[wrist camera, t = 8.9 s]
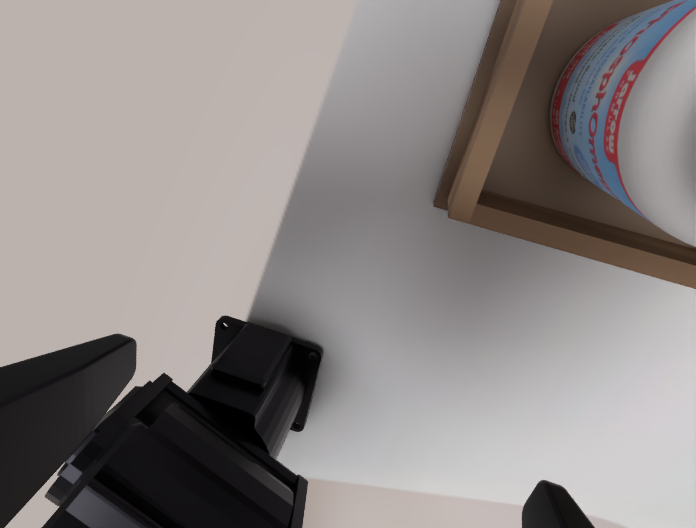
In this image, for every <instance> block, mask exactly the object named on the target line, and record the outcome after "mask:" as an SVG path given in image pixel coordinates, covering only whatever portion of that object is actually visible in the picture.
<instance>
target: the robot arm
mask: <svg viewBox="0 0 696 528" xmlns="http://www.w3.org/2000/svg"><path fill="white" fill-rule="evenodd" d="M223 323H225V324H227V326H228V327H226V326H225V325H224V324H223ZM311 352H313V353H315V354H316V355H317V356H314V355H312V354H311ZM322 358H323V350H322V349H321V348H320V347H319V346H317V345H314V344H311V343H308V342H305V341H302V340H299V339H296V338H293V337H290V336H288V335H285V334H282V333H279V332H276V331H273V330H270V329H267V328H264V327H261V326H258V325H255V324H252V323H247V322H244V321H241V320H238V319H235V318H232V317H229V316H222V317H221V318H220V319H219V320H218V321H217V323H216V327H215V336H214V344H213V353H212V362H211V364H210V365H209V367H208V368H207V369H206V370H205V371H204V373H203V374H202V375H201V376H200V377H199V379H198V380H197V381H196V382H195V383H194V384H193V385H192V387H191V388H190V389H189V390H188V391H187V392H185V391H184V390H183V389H181V388H180V387H179V386H177V385H176V384H175V383H173V382H172V380H173V379H172V378H170V377H169V376H168V375H166V374H165V373H163V374H162V375H161V376H160V377H158V378H157V379H156V380H155V381H154V382H153V383H152V382H151V381H149V382H147V383H146V384H145V385H144V386H143V387H138V386H135V387H134V388H133V389H132V390H131V391H130V392H129V393H128V394H127V395H126V396H125V397H124V398H123V399H122V400H121V401H120V402H119V403H118V404H116V406H114V407H113V408H112V409H111V410H109V411H108V412H107V410H108V409H109V408H110V406H111V405H112V404H113V403H114V401H115V400H116V399H117V397H118V396H119V395H120V393H121V392H122V391H123V389H124V388H125V387H126V385H127V384H128V383H129V381H130V380H131V379H132V377H133V375H134V373H135V369H136V341H135V340H134V339H133V338H130V337H128V336H125V335H122V334H113V335H110V336H106V337H103V338H99V339H96V340H93V341H89V342H86V343H83V344H79V345H75V346H72V347H68V348H65V349H62V350H58V351H55V352H52V353H48V354H45V355H41V356H38V357H34V358H31V359H27V360H24V361H20V362H17V363H13V364H10V365H7V366H3V367H0V528H4V527H5V526H6V525H7V524H8V523H9V522H10V521H11V520H12V519H13V517H14V516H15V515H16V514H17V513H18V512H19V511H20V510H21V509H22V508H23V507H24V506H25V504H26V503H27V502H28V501H29V500H30V499H31V498H32V497H33V496H34V495H35V493H36V492H37V491H38V490H39V489H40V488H41V487H42V486H43V485H44V484H45V483H46V482H47V480H48V479H49V478H50V477H51V476H52V475H53V474H54V473H55V472H56V471H57V470H58V469H59V467H60V466H61V465H62V464H63V463H64V462H65V464H64V465H63V467H62V468H61V469H60V471H59V472H58V474H57V475H58V476H59V477H58V478H57V480H56V481H55V482H54V484H53V485H52V486H51V487H50V489H49V490H48V492H47V493H46V495H45V497H46V498H47V499H48V500H50V501H51V502H53V503H54V504H55V505H57V506H59V508H58V509H57V511H56V512H55V513H54V514H53V515H52V516H51V518H50V519H49V520H48V521H47V522H46V524H45V525H44V526H43V527H42V528H302V524H303V517H304V509H305V501H306V494H307V485H308V481H307V480H306V479H304V478H303V477H302V476H300V475H296V474H294V473H293V472H292V471H290V470H289V469H288V468H286V467H285V466H284V465H282V464H281V463H280V462H278V461H277V460H276V459H277V456H278V454H279V452H280V450H281V448H282V445H283V443H284V441H285V439H286V437H287V434H288V432H289V430H293V431H296V432H300V431H302V430H303V429H304V426H305V424H306V420H307V416H308V413H309V409H310V405H311V401H312V397H313V393H314V389H315V385H316V381H317V377H318V373H319V369H320V366H321V362H322ZM106 412H107V413H106ZM295 422H297V423H299V424H297V423H295ZM522 528H595V527H594V526H593V525H592V523H591V522H590V521H589V519H588V518H587V517H586V515H585V514H584V513H583V511H582V510H581V509H580V507H579V506H578V505H577V504H576V502H575V501H574V500H573V498H572V497H571V496H570V494H569V493H568V492H567V490H566V489H565V488H564V487H562V486H560V485H558V484H555V483H552V482H549V481H546V480H541V481H540V482H539V483H538V484H537V485H536V487H535V489H534V490H533V492H532V493H531V495H530V496H529V498H528V500H527V501H526V503H525V505H524V507H523V511H522Z"/></svg>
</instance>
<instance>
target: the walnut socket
mask: <svg viewBox="0 0 696 528" xmlns="http://www.w3.org/2000/svg"><path fill="white" fill-rule="evenodd" d="M670 1H673V0H501V1H500V4H499V7H498V10H497V13H496V16H495V19H494V22H493V25H492V28H491V31H490V34H489V37H488V40H487V43H486V46H485V49H484V52H483V55H482V58H481V61H480V64H479V67H478V70H477V73H476V76H475V79H474V82H473V85H472V88H471V91H470V94H469V97H468V100H467V103H466V106H465V109H464V112H463V115H462V118H461V121H460V125H459V128H458V131H457V134H456V137H455V140H454V143H453V146H452V149H451V152H450V155H449V158H448V161H447V164H446V167H445V170H444V173H443V176H442V179H441V182H440V185H439V188H438V191H437V194H436V197H435V200H434V205H433V206H434V207H437V208H441V209H444V210H448V218H451V219H454V220H458V221H461V222H465V223H468V224H472V225H475V226H479V227H482V228H486V229H489V230H493V231H496V232H500V233H503V234H506V235H510V236H513V237H517V238H520V239H524V240H527V241H531V242H534V243H538V244H541V245H545V246H548V247H552V248H555V249H559V250H562V251H566V252H569V253H572V254H576V255H579V256H583V257H586V258H590V259H593V260H597V261H600V262H604V263H607V264H611V265H614V266H618V267H621V268H625V269H628V270H632V271H635V272H638V273H642V274H645V275H649V276H652V277H656V278H659V279H663V280H666V281H670V282H673V283H677V284H680V285H684V286H687V287H691V288H694V289H696V247H695V246H692V245H690V244H687V243H685V242H683V241H681V240H679V239H677V238H675V237H673V236H672V235H670V234H668V233H666V232H665V231H663V230H662V229H660V228H658V227H657V226H656V225H654V224H653V223H651V222H650V221H648V220H646V219H645V218H644V217H642V216H641V215H639V214H638V213H636V212H635V211H633V210H632V209H631V208H629V207H628V206H626V205H625V204H623V203H622V202H620V201H619V200H617V199H616V198H614V197H613V196H611V195H610V194H608V193H607V192H605V191H604V190H602V189H601V188H599V187H598V186H596V185H595V184H593V183H592V182H590V181H589V180H587V179H586V178H584V177H583V176H581V175H579V174H578V173H577V172H576V171H575V170H573V169H572V168H571V167H570V166H569V165H568V164H567V163H566V162H565V161H564V159H563V158H562V157H561V155H560V154H559V152H558V150H557V148H556V146H555V144H554V141H553V138H552V134H551V128H550V106H551V101H552V96H553V93H554V90H555V87H556V84H557V82H558V80H559V78H560V76H561V74H562V72H563V70H564V69H565V67H566V65H567V64H568V62H569V61H570V60H571V58H572V57H573V56H574V55H575V53H576V52H577V51H578V50H579V49H580V48H581V47H582V46H583V45H584V44H585V43H586V42H587V41H588V40H590V39H591V38H592V37H593V36H594V35H596V34H597V33H599V32H600V31H602V30H603V29H605V28H606V27H608V26H610V25H612V24H613V23H615V22H618V21H620V20H622V19H624V18H626V17H629V16H631V15H634V14H637V13H639V12H642V11H645V10H648V9H651V8H654V7H656V6H659V5H662V4H665V3H667V2H670Z"/></svg>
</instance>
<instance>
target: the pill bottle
mask: <svg viewBox="0 0 696 528" xmlns="http://www.w3.org/2000/svg"><path fill="white" fill-rule="evenodd" d="M550 128H551V134H552V138H553V141H554V144H555V146H556V148H557V150H558V152H559V154H560V155H561V157H562V158H563V159H564V161H565V162H566V163H567V164H568V165H569V166H570V167H571V168H572V169H573V170H575V171H576V172H577V173H578V174H579V175H581V176H583V177H584V178H586V179H587V180H589V181H590V182H592V183H593V184H595V185H596V186H598V187H599V188H601V189H602V190H604V191H605V192H607V193H608V194H610V195H611V196H613V197H614V198H616V199H617V200H619V201H620V202H622V203H623V204H625V205H626V206H628V207H629V208H631V209H632V210H633V211H635V212H636V213H638V214H639V215H641V216H642V217H644V218H645V219H646V220H648V221H650V222H651V223H653V224H654V225H656V226H657V227H658V228H660V229H662V230H663V231H665V232H666V233H668V234H670V235H672V236H673V237H675V238H677V239H679V240H681V241H683V242H685V243H687V244H690V245H692V246H695V247H696V0H673V1H670V2H667V3H665V4H662V5H659V6H656V7H654V8H651V9H648V10H645V11H642V12H639V13H637V14H634V15H631V16H629V17H626V18H624V19H622V20H620V21H618V22H615V23H613V24H612V25H610V26H608V27H606V28H605V29H603V30H602V31H600V32H599V33H597V34H596V35H594V36H593V37H592V38H591V39H590V40H588V41H587V42H586V43H585V44H584V45H583V46H582V47H581V48H580V49H579V50H578V51H577V52H576V53H575V55H574V56H573V57H572V58H571V60H570V61H569V62H568V64H567V65H566V67H565V69H564V70H563V72H562V74H561V76H560V78H559V80H558V82H557V84H556V87H555V90H554V93H553V96H552V101H551V106H550Z"/></svg>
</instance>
